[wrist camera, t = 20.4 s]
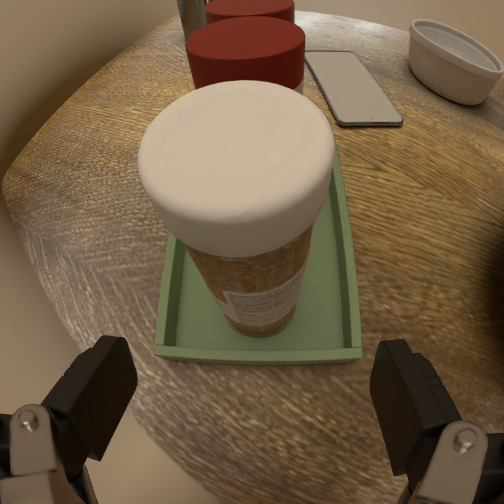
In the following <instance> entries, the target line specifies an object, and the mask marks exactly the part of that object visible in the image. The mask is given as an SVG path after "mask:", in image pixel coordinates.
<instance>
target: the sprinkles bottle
mask: <svg viewBox="0 0 504 504" xmlns="http://www.w3.org/2000/svg"><path fill="white" fill-rule="evenodd" d="M334 151H335V142H334V136H333V132H332V129H331V127H330V124H329V122H328V120H327V119H326V117H325V116H324V114H323V113H322V111H321V110H320V109H319V108H318V107H317V106H316V105H315V104H314V103H313V102H311V101H310V100H309V99H307V98H306V97H304V96H303V95H301V94H300V93H298V92H296V91H294V90H291V89H289V88H286V87H284V86H281V85H278V84H274V83H269V82H262V81H250V80H239V81H228V82H221V83H217V84H213V85H209V86H205V87H202V88H199V89H197V90H195V91H192V92H190V93H188V94H186V95H184V96H183V97H181V98H179V99H177V100H176V101H174V102H173V103H171V104H170V105H169V106H167V107H166V108H165V109H164V110H163V111H162V112H161V113H160V114H159V115H158V116H157V117H156V118H155V119H154V120H153V121H152V123H151V124H150V125H149V127H148V129H147V130H146V132H145V134H144V136H143V138H142V140H141V143H140V147H139V152H138V172H139V176H140V180H141V183H142V185H143V187H144V189H145V191H146V193H147V195H148V197H149V199H150V200H151V202H152V204H153V206H154V208H155V210H156V211H157V213H158V214H159V216H160V218H161V219H162V221H163V223H164V224H165V226H166V227H167V228H168V230H169V231H170V232H171V233H172V234H173V235H174V236H175V237H176V238H178V239H179V240H180V241H182V242H183V244H184V246H185V247H186V249H187V251H188V253H189V255H190V257H191V258H192V260H193V262H194V263H195V265H196V267H197V269H198V270H199V272H200V274H201V276H202V278H203V279H204V282H205V284H206V287H207V288H208V290H209V292H210V293H211V295H212V297H213V298H214V300H215V302H216V303H217V305H218V306H219V308H220V309H221V310H222V312H223V314H224V316H225V318H226V320H227V322H228V323H229V324H230V325H231V326H232V327H233V328H234V329H235V330H236V331H238V332H240V333H242V334H244V335H247V336H251V337H256V338H262V337H267V336H272V335H274V334H276V333H279V332H280V331H281V330H283V329H284V328H285V327H286V326H287V325H288V324H289V322H290V321H291V319H292V318H293V316H294V313H295V310H296V305H297V298H298V295H299V292H300V288H301V285H302V281H303V277H304V273H305V269H306V265H307V261H308V256H309V252H310V247H311V235H312V228H313V225H314V221H315V219H316V217H317V216H318V214H319V213H320V211H321V210H322V207H323V205H324V202H325V200H326V196H327V191H328V187H329V183H330V179H331V173H332V166H333V160H334Z"/></svg>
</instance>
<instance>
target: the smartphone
mask: <svg viewBox="0 0 504 504" xmlns="http://www.w3.org/2000/svg"><path fill="white" fill-rule="evenodd" d="M305 61H306V63H307V64H308V66H309V68H310V70H311V71H312V73H313V75H314V77H315V79H316V81H317V82H318V84H319V86H320V88H321V90H322V92H323V94H324V96H325V98H326V100H327V101H328V104H329V106H330V107H331V109H332V112H333V114H334V116H335V118H336V120H337V122H338V123H339V124H341V125H343V126H368V125H402V124H403V118H402V117H401V115H400V114H399V112H398V111H397V109H396V108H395V106H394V105H393V104H392V102H391V101H390V99H389V98H388V96H387V95H386V94H385V92H384V91H383V89H382V88H381V87H380V85H379V84H378V83H377V81H376V80H375V79H374V77H373V76H372V75H371V73H370V72H369V71H368V70H367V68H366V67H365V66H364V64H363V63H362V62H361V61H360V60H359V58H358V57H357V56H356V55H355V54H354V53H353V52H350V51H305Z"/></svg>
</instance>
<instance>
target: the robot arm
mask: <svg viewBox="0 0 504 504" xmlns="http://www.w3.org/2000/svg"><path fill="white" fill-rule="evenodd" d="M137 381H138V377H137V372H136V368H135V365H134V362H133V359H132V356H131V353H130V349H129V346H128V343H127V341H126V339H125V338H123V337H116V336H107V335H103V336H101V337H100V338H99V340H98V341H97V342H96V343H95V345H94V346H93V347H92V348H89V349H87V350H86V351H84V352H83V353H81V354H80V355H78V356H77V358H76V359H75V360H74V362H73V363H72V364H71V365H70V368H68V369H67V370H66V372H65V373H64V376H62V377H61V378H60V379H59V381H58V382H57V383H56V384H55V386H54V387H53V389H52V390H51V391H50V392H49V394H48V395H47V396H46V398H45V399H44V400H43V402H42V403H41V404H40V405H39V404H28V405H25V406H22V407H21V408H19V409H18V410H16V412H15V413H14V414H13V415H9V414H0V504H98V501H97V498H96V496H95V493H94V490H93V487H92V484H91V480H90V477H89V474H88V470H87V468H86V466H85V464H84V463H85V461H86V459H87V457H88V458H91V459H94V460H97V461H101V459H102V457H103V455H104V453H105V451H106V449H107V446H108V444H109V442H110V440H111V438H112V436H113V434H114V432H115V430H116V428H117V426H118V424H119V422H120V420H121V418H122V416H123V414H124V412H125V410H126V408H127V406H128V404H129V402H130V400H131V398H132V396H133V394H134V392H135V390H136V387H137ZM370 395H371V398H372V401H373V405H374V408H375V411H376V414H377V418H378V421H379V424H380V428H381V431H382V435H383V438H384V442H385V445H386V449H387V452H388V456H389V460H390V463H391V467H392V471H393V475H394V476H399V475H403V474H407V477H408V480H409V481H408V483H407V484H406V486H405V488H404V490H403V492H402V493H401V495H400V497H399V499H398V501H397V503H396V504H504V433H493V434H486V433H485V431H484V430H483V429H482V428H481V427H480V426H479V425H477V424H476V423H474V422H471V421H466V420H462V418H461V416H460V414H459V412H458V410H457V408H456V407H455V405H454V403H453V401H452V399H451V397H450V396H449V394H448V392H447V390H446V388H445V387H444V385H442V381H441V380H440V378H439V376H437V373H436V371H435V369H434V368H433V366H432V364H431V363H430V362H429V361H428V360H427V359H426V358H424V357H423V356H422V355H421V354H419V353H414V354H413V353H412V351H411V349H410V348H409V346H408V344H407V342H406V341H405V340H404V339H397V340H386V341H380V343H379V345H378V348H377V353H376V357H375V361H374V365H373V369H372V373H371V377H370Z"/></svg>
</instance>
